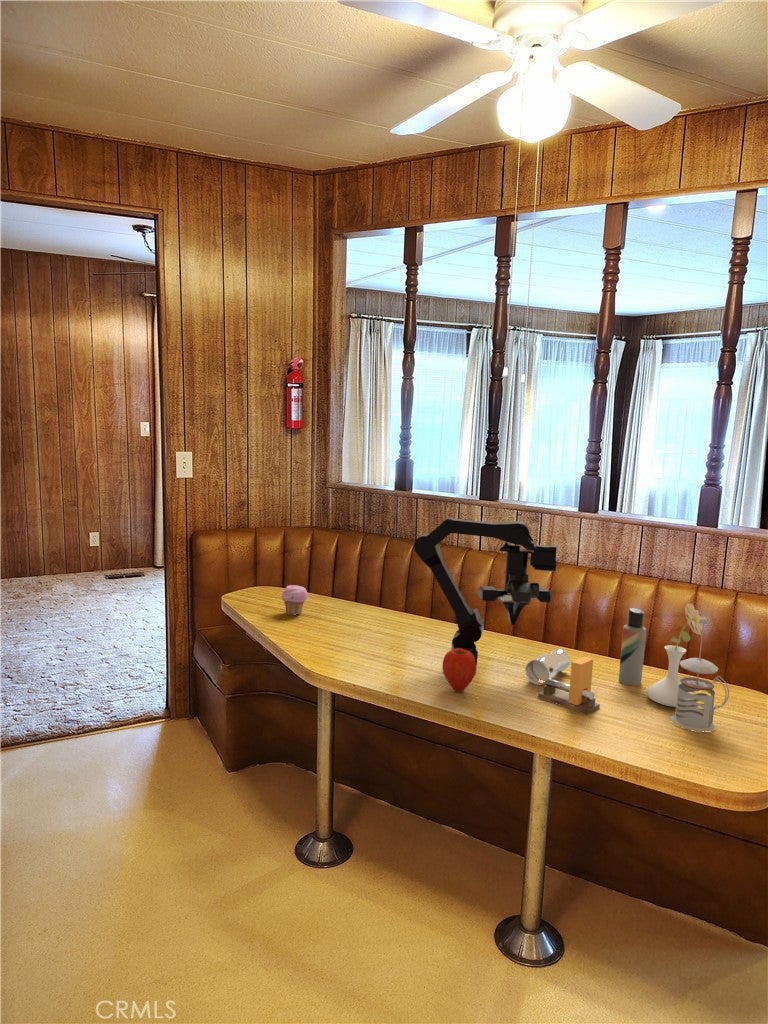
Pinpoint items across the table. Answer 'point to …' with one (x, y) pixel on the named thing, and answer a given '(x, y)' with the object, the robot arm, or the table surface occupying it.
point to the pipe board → (563, 698)
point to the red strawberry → (459, 668)
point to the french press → (697, 695)
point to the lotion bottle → (632, 649)
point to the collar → (580, 679)
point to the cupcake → (294, 599)
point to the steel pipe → (566, 687)
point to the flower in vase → (675, 663)
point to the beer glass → (547, 666)
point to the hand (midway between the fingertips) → (512, 625)
